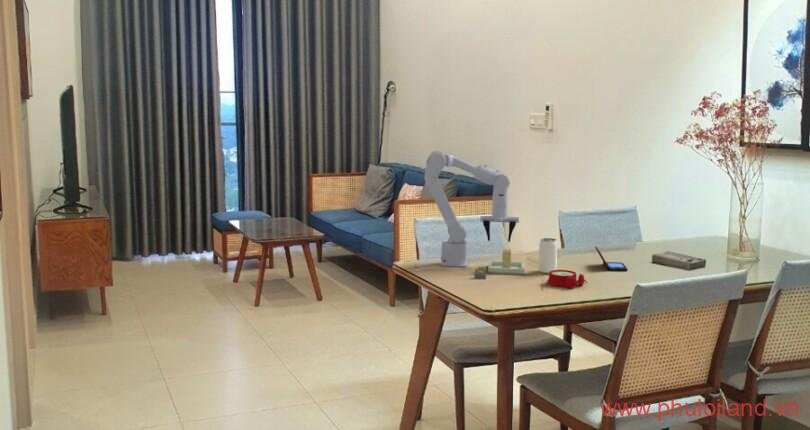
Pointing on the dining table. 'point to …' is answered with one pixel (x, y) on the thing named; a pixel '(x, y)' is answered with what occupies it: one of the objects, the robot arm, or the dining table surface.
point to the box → (678, 260)
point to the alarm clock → (565, 278)
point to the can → (547, 255)
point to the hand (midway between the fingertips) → (499, 240)
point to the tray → (496, 268)
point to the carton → (506, 258)
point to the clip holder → (480, 273)
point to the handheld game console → (612, 264)
